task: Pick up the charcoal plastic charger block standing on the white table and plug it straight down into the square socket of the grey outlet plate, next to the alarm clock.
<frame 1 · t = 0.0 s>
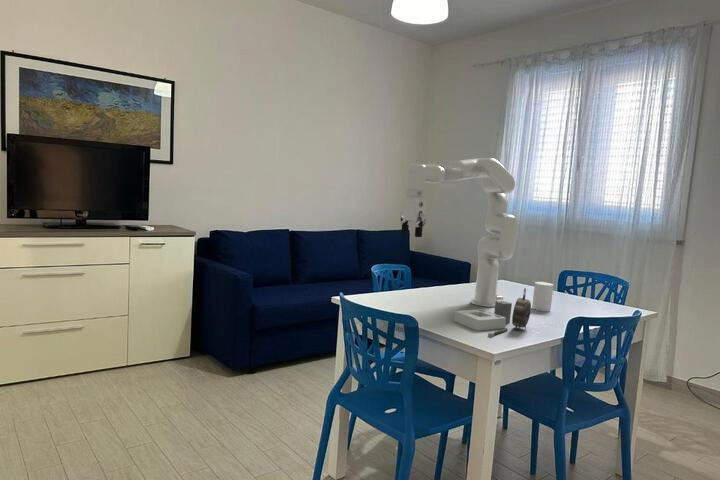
hand: (411, 235, 217), 31 cm above the table, fingers open, 9 cm apart
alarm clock: (520, 329, 201), on the table
charger: (501, 321, 211), on the table
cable: (499, 333, 193), on the table
outlet plate: (479, 324, 204), on the table
cup: (541, 309, 241), on the table
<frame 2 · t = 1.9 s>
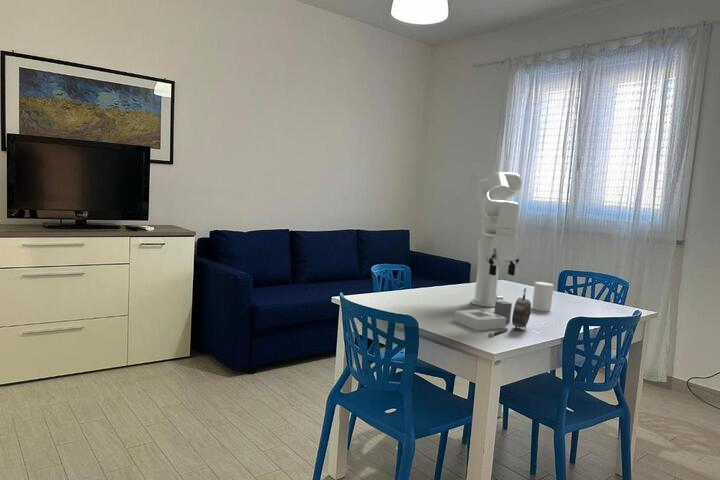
hand: (501, 274, 209), 19 cm above the table, fingers open, 9 cm apart
nothing on the table moved.
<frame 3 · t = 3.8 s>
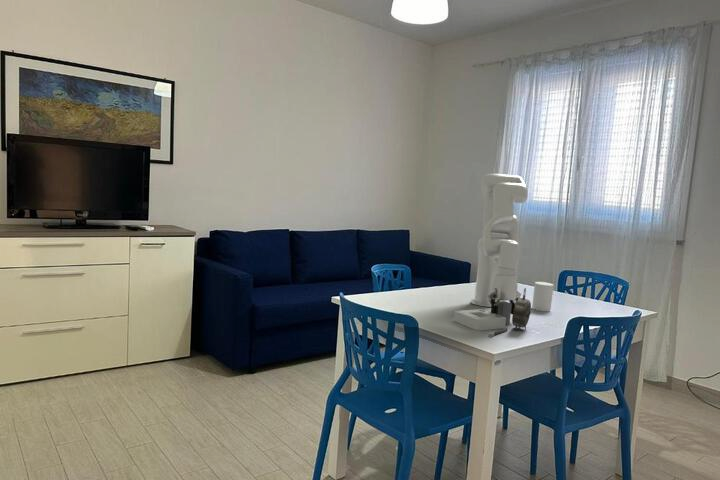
hand: (502, 314, 210), 3 cm above the table, fingers open, 9 cm apart
nothing on the table moved.
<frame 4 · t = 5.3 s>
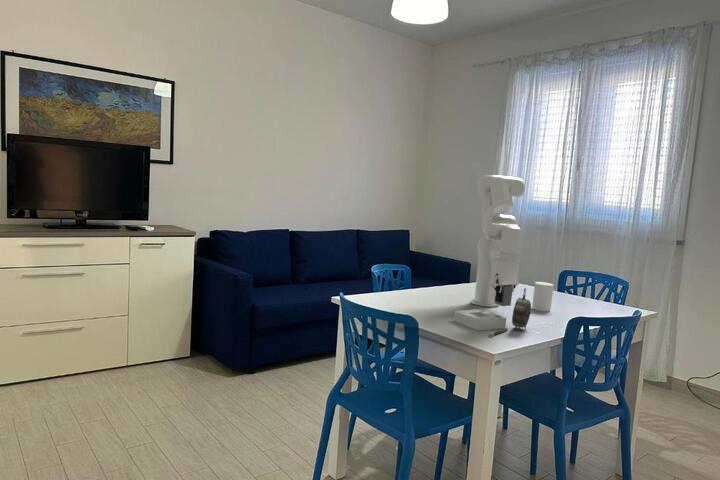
hand: (503, 300, 212), 8 cm above the table, fingers closed on charger, 4 cm apart
charger: (502, 304, 212), point 7 cm above the table, touching gripper
everything else where it was.
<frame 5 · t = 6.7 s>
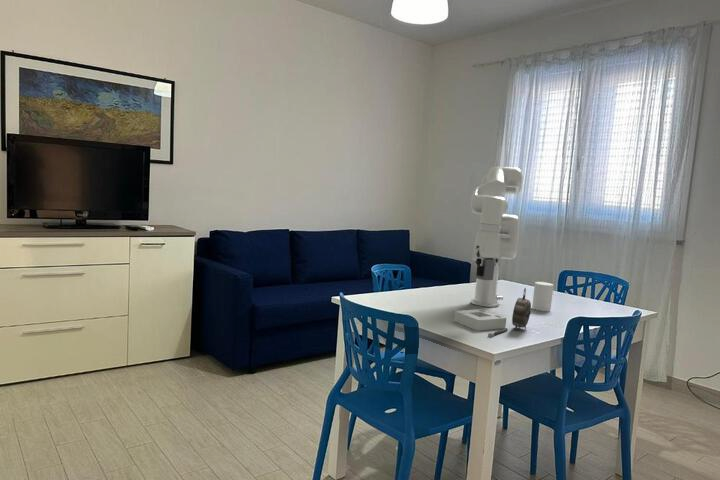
hand: (484, 275, 202), 20 cm above the table, fingers closed on charger, 4 cm apart
charger: (484, 279, 202), point 18 cm above the table, touching gripper
everything else where it was.
when the fingers open (4 cm above the table, at t = 9.0 s): charger drops 3 cm, resting in outlet plate.
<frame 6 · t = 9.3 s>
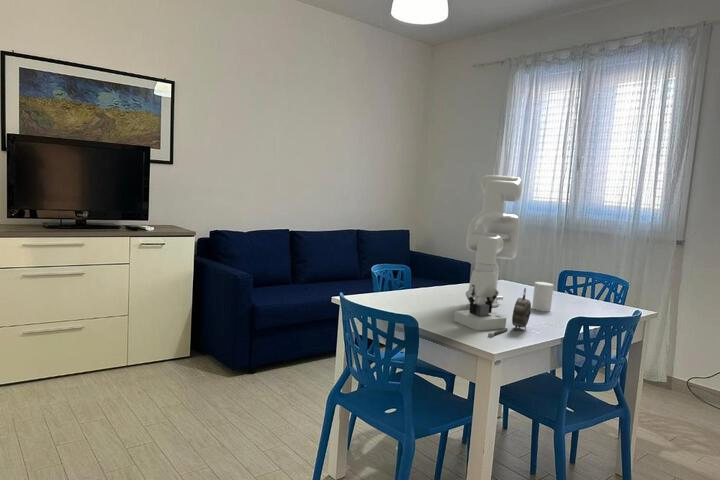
hand: (480, 312, 203), 5 cm above the table, fingers open, 7 cm apart
charger: (479, 324, 204), resting in outlet plate
everything else where it was.
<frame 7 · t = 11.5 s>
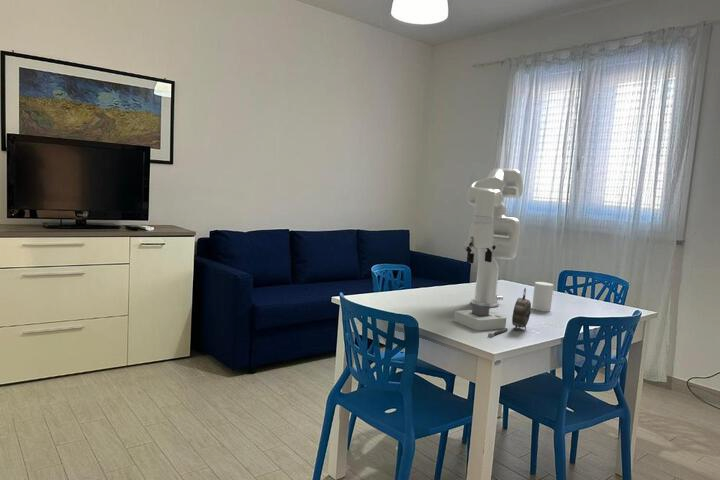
hand: (479, 262, 211), 23 cm above the table, fingers open, 9 cm apart
nothing on the table moved.
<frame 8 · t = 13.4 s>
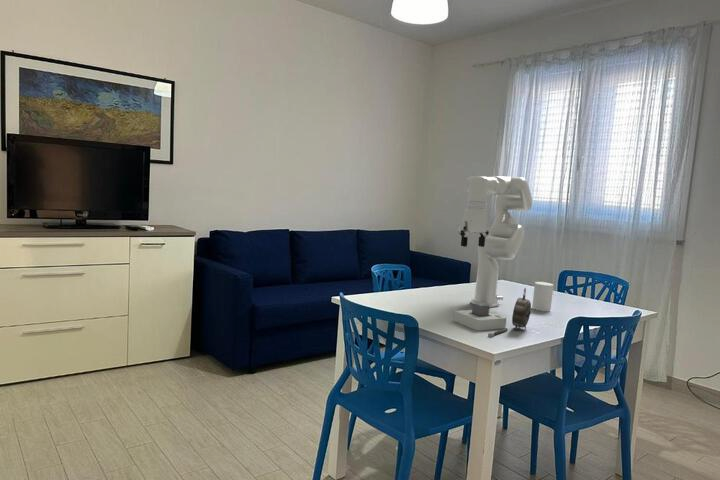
hand: (472, 246, 221), 28 cm above the table, fingers open, 9 cm apart
nothing on the table moved.
at the end: charger 0.1 cm off-centre on the outlet plate, point 0.0 cm above the outlet plate's base; charger tilted 0°; the gripper is holding nothing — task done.
